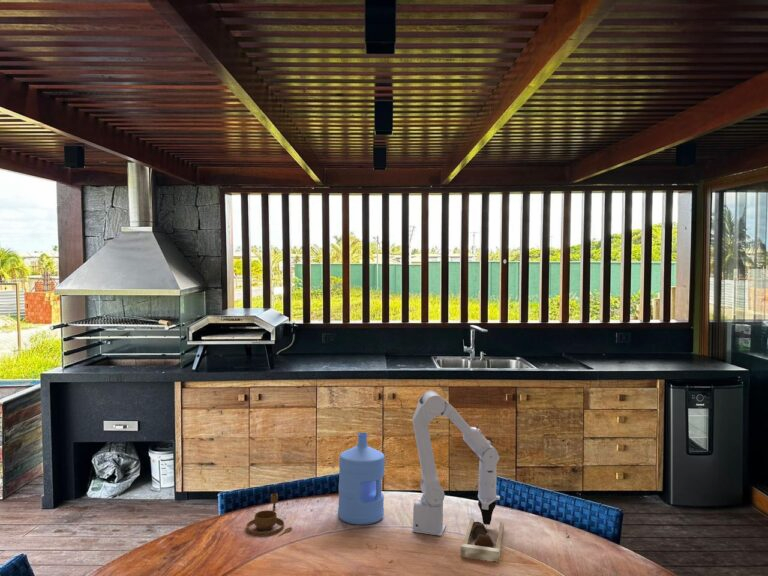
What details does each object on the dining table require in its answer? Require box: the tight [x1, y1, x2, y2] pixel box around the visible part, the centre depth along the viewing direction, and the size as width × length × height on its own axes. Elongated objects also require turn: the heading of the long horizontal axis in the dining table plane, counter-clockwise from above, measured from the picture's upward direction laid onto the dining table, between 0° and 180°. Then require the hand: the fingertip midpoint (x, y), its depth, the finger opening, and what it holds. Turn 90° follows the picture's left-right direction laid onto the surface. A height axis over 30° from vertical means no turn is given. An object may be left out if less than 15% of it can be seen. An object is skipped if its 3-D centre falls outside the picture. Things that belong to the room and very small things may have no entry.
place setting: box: [245, 493, 293, 537], centre depth 178 cm, size 18×20×6 cm
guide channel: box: [460, 517, 505, 563], centre depth 167 cm, size 11×24×3 cm, turn 164°
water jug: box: [337, 432, 386, 526], centre depth 185 cm, size 16×16×28 cm
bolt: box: [471, 521, 495, 548], centre depth 167 cm, size 6×5×15 cm
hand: (486, 523), depth 177 cm, fingers closed
